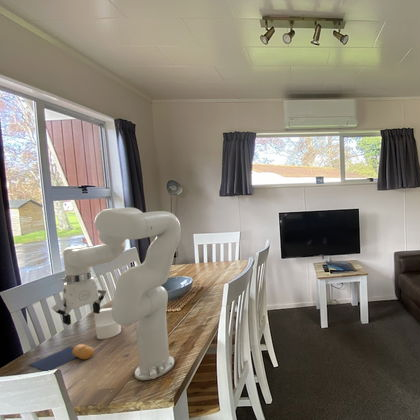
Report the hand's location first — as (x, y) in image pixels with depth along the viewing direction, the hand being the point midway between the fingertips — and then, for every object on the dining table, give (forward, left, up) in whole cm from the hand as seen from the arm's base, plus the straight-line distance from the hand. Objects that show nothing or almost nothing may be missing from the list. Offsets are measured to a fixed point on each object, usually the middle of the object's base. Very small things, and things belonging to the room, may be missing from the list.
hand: (82, 318), depth 109 cm
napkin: (+5, +9, -16) cm, 19 cm away
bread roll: (0, +1, -16) cm, 16 cm away
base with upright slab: (+16, -7, -16) cm, 24 cm away
